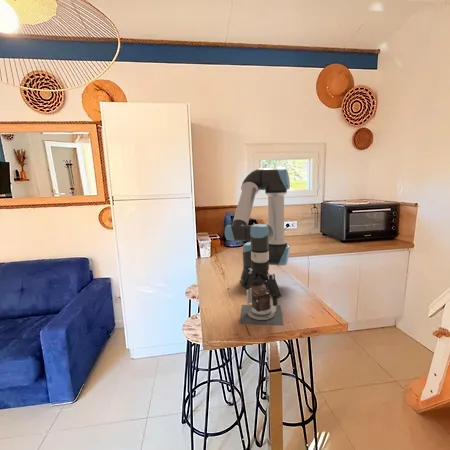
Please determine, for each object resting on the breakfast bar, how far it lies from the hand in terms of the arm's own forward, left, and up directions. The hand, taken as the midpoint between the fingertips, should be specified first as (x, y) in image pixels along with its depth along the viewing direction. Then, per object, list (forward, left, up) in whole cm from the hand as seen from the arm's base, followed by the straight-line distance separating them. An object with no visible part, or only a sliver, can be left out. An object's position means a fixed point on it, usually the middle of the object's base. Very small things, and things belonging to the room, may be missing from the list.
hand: (260, 307), depth 121 cm
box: (0, 0, 0) cm, 0 cm away
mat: (0, 0, -4) cm, 4 cm away
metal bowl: (0, 0, -3) cm, 3 cm away
